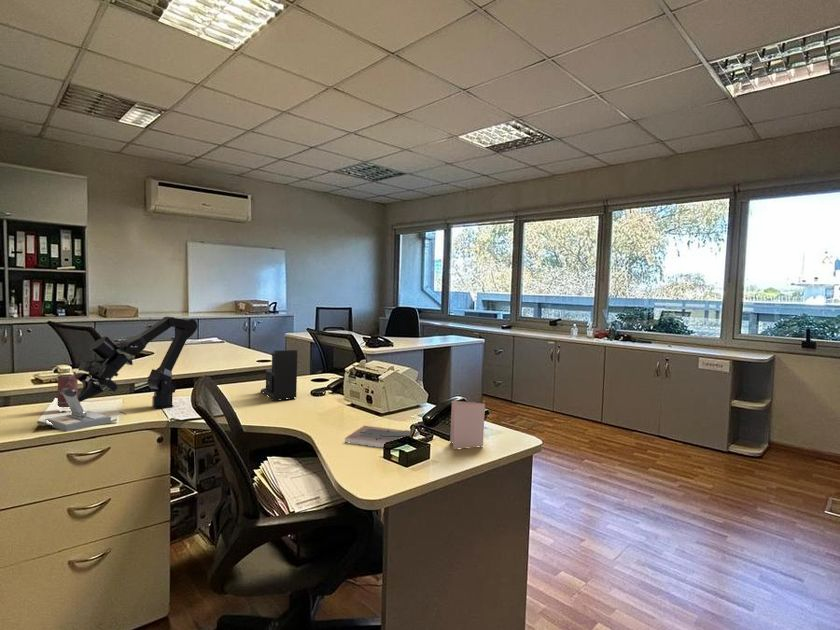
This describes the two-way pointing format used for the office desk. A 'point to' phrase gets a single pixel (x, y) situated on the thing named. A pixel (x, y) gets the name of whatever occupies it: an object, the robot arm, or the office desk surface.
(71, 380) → the can
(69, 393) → the toggle lever
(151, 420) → the office desk surface
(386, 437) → the pale purple book
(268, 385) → the bookend
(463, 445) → the greeting card
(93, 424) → the switch base
